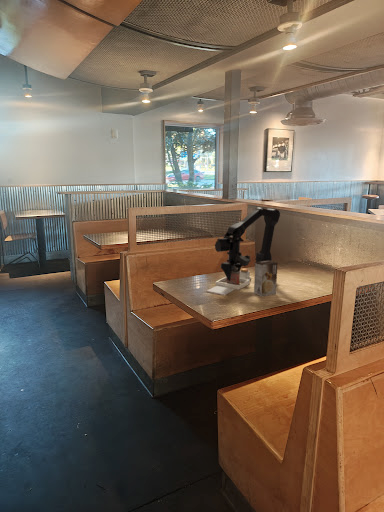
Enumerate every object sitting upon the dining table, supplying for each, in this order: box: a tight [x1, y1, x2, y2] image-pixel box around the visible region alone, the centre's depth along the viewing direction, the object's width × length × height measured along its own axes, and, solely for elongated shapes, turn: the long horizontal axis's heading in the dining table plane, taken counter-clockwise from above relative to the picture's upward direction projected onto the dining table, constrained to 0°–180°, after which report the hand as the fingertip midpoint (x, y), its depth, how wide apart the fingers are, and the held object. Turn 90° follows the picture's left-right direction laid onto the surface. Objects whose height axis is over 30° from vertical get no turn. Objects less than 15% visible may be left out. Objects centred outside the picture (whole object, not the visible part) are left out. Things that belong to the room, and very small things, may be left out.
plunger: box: [240, 267, 249, 273], centre depth 202 cm, size 4×4×4 cm
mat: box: [206, 285, 235, 296], centre depth 182 cm, size 10×10×1 cm
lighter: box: [225, 266, 241, 285], centre depth 193 cm, size 8×3×10 cm, turn 47°
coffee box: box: [253, 260, 278, 297], centre depth 177 cm, size 9×6×16 cm
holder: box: [215, 270, 252, 291], centre depth 197 cm, size 14×22×4 cm, turn 147°
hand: (233, 278), depth 193 cm, fingers open, 9 cm apart
